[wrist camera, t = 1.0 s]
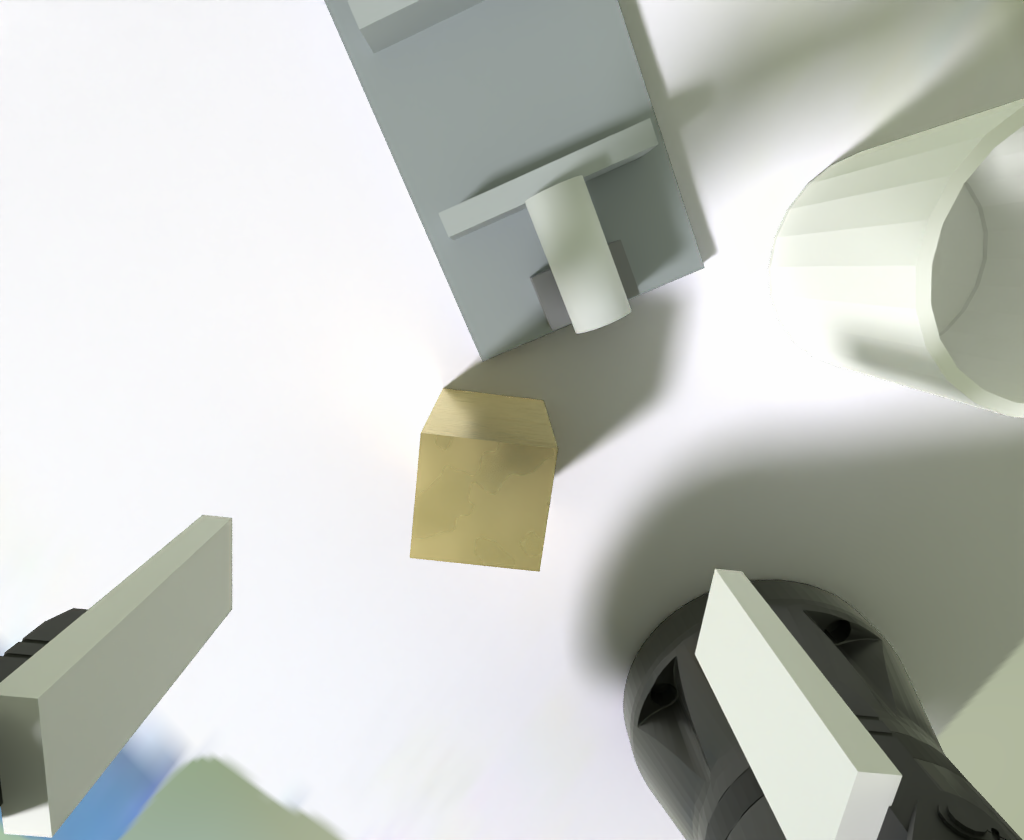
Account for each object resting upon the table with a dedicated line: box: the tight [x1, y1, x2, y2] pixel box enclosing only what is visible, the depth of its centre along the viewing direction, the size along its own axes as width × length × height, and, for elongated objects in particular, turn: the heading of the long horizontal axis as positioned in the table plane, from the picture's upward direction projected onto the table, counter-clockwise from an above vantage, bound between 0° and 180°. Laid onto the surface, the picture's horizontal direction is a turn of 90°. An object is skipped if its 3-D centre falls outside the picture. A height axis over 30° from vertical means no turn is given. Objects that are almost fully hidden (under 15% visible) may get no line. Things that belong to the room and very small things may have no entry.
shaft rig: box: [324, 0, 705, 361], centre depth 23 cm, size 20×11×5 cm, turn 23°
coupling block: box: [410, 388, 558, 571], centre depth 25 cm, size 5×5×8 cm
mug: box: [768, 98, 1024, 418], centre depth 23 cm, size 13×10×10 cm
